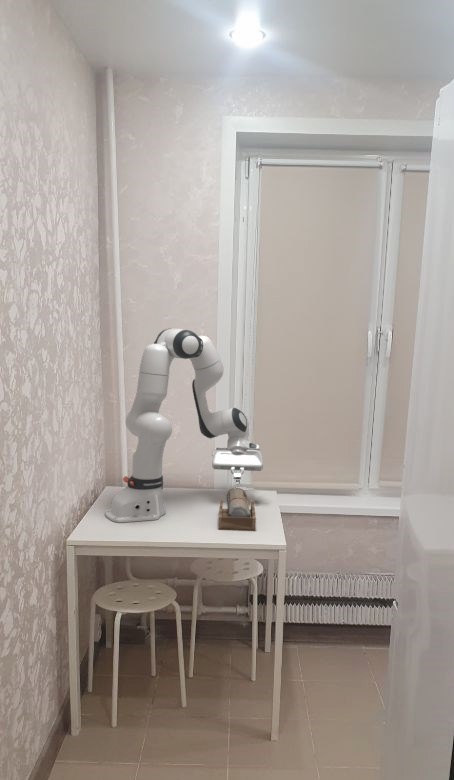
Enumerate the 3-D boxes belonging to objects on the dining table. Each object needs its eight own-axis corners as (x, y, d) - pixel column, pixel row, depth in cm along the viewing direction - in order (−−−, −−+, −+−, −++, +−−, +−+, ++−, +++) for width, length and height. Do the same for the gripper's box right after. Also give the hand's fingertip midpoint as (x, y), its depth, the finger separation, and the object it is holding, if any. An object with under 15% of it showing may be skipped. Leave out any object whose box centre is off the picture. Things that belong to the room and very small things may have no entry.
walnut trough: (219, 510, 234) (220, 498, 233) (253, 511, 234) (253, 499, 233) (218, 529, 212) (218, 517, 211) (255, 530, 212) (255, 518, 211)
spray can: (246, 508, 235) (250, 525, 215) (225, 508, 235) (228, 525, 215) (247, 487, 234) (252, 502, 214) (226, 487, 234) (229, 502, 214)
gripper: (212, 443, 242) (210, 473, 233) (263, 445, 241) (263, 475, 233) (212, 451, 247) (210, 481, 238) (262, 453, 246) (262, 483, 238)
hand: (237, 478), depth 235 cm, fingers closed
